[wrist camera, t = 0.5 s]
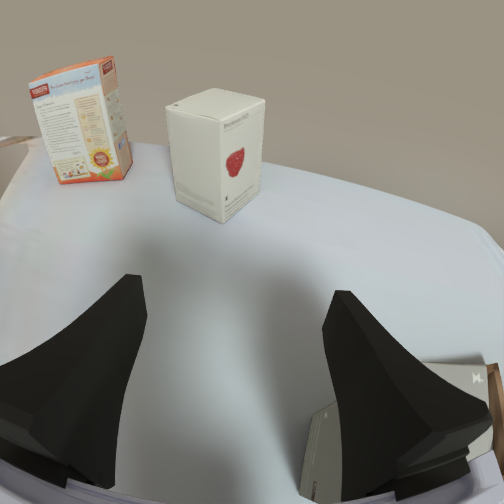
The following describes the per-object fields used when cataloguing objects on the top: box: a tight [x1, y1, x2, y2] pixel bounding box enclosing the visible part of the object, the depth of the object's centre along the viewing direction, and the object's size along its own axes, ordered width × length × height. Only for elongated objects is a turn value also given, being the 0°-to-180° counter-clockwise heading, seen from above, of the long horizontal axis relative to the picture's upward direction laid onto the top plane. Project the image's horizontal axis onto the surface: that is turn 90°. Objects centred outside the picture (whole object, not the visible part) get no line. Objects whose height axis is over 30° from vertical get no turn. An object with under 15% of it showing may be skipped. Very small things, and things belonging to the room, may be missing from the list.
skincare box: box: [299, 362, 493, 504], centre depth 15 cm, size 8×7×16 cm
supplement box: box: [166, 88, 265, 224], centre depth 38 cm, size 9×9×15 cm
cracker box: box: [29, 56, 133, 184], centre depth 40 cm, size 14×6×21 cm, turn 89°
